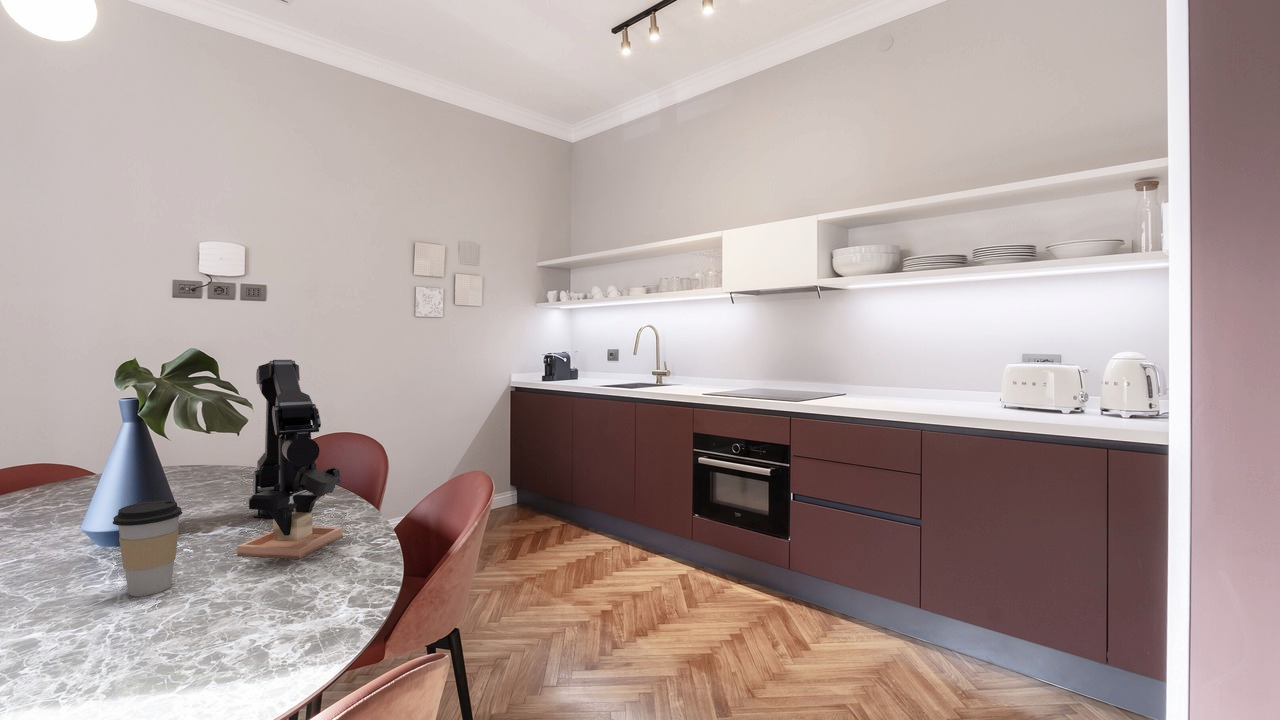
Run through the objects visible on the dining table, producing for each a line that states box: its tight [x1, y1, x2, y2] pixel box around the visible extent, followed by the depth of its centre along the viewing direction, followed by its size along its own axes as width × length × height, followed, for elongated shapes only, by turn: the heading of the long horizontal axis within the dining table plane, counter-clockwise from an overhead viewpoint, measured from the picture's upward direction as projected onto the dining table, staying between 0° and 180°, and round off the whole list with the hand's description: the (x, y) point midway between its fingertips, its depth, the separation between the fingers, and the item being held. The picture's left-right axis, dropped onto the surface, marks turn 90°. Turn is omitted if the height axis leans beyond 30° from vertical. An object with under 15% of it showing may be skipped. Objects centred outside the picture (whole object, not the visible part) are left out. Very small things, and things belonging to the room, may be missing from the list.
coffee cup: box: [112, 500, 183, 597], centre depth 102 cm, size 9×9×15 cm
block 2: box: [278, 511, 313, 541], centre depth 121 cm, size 4×4×4 cm
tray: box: [236, 525, 344, 560], centre depth 125 cm, size 14×14×2 cm
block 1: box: [272, 519, 294, 541], centre depth 128 cm, size 4×4×4 cm
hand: (295, 531), depth 121 cm, fingers closed on block 2, 4 cm apart
